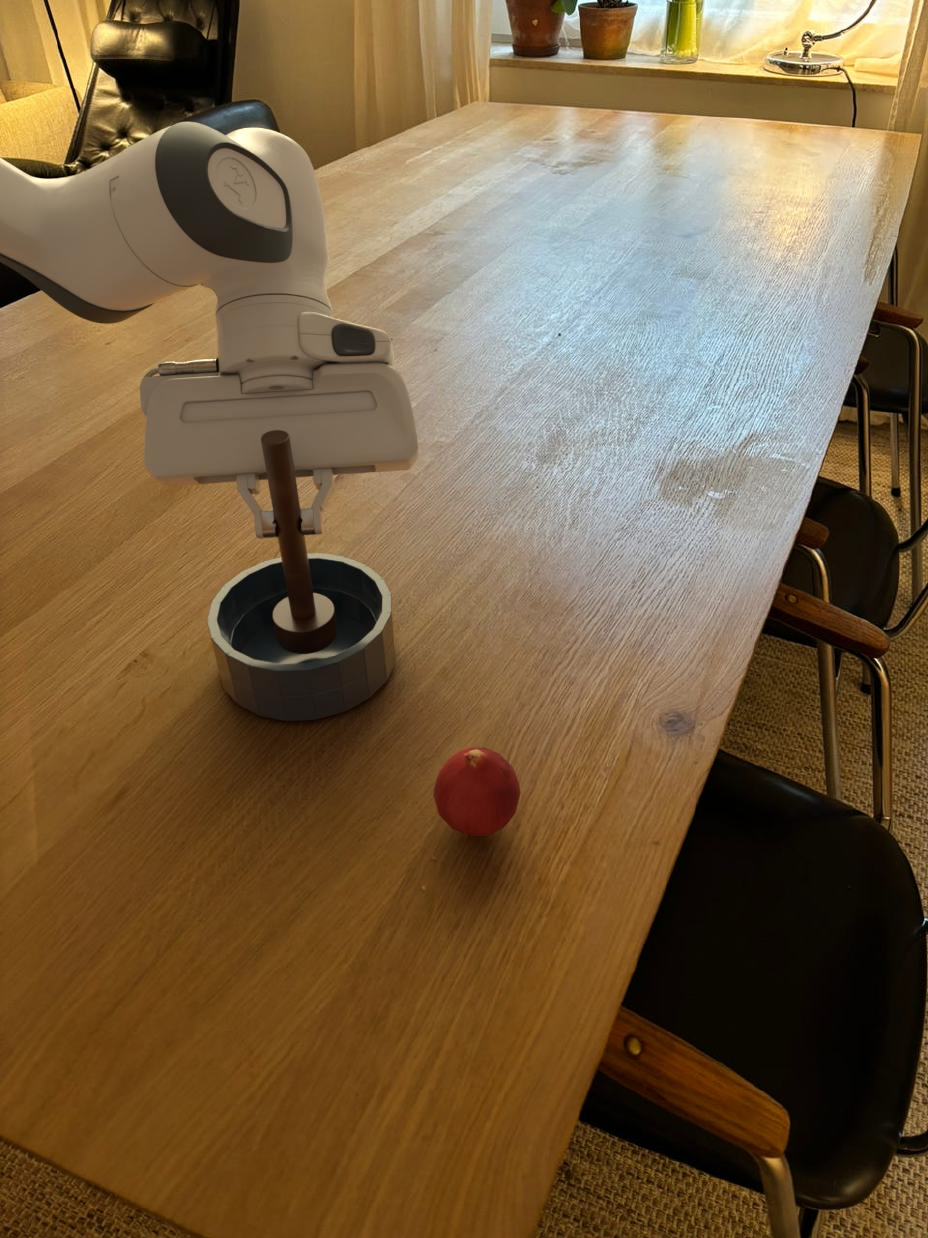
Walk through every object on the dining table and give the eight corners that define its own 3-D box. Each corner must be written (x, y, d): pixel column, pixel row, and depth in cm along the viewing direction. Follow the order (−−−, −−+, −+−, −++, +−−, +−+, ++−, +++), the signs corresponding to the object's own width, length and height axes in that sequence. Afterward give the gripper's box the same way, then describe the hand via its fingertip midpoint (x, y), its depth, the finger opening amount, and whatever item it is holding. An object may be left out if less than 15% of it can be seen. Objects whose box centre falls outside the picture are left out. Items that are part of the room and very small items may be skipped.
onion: (463, 782, 73) (461, 706, 68) (533, 813, 71) (536, 737, 65) (421, 838, 69) (415, 762, 64) (492, 873, 67) (492, 797, 62)
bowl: (239, 747, 76) (225, 691, 72) (207, 630, 87) (194, 576, 83) (419, 697, 80) (415, 641, 76) (368, 591, 90) (362, 537, 86)
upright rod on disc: (283, 660, 79) (246, 461, 67) (270, 622, 82) (232, 427, 70) (344, 645, 80) (318, 446, 68) (328, 608, 84) (301, 413, 72)
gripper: (126, 348, 71) (137, 538, 70) (410, 331, 73) (425, 518, 72) (149, 377, 78) (159, 551, 77) (410, 361, 79) (423, 532, 78)
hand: (290, 535), depth 74 cm, fingers closed on upright rod on disc
